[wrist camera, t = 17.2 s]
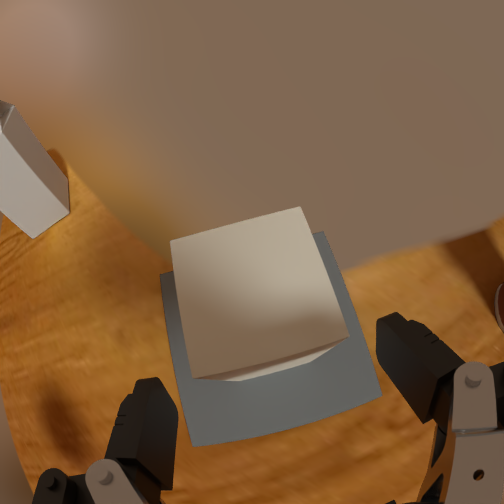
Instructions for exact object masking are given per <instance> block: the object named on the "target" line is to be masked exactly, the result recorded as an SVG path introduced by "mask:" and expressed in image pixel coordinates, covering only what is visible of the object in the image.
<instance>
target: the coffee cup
mask: <svg viewBox="0 0 504 504" xmlns="http://www.w3.org/2000/svg"><path fill="white" fill-rule="evenodd" d="M494 307H495V316H496V319H497V322H498V325H499V327H500V328H501V330H502V331H503V333H504V282H503V283H502V284H501V285H499V287H498V289H497V291H496V293H495V301H494Z"/></svg>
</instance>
